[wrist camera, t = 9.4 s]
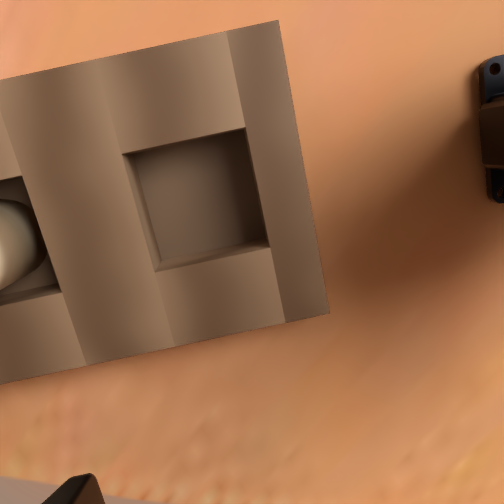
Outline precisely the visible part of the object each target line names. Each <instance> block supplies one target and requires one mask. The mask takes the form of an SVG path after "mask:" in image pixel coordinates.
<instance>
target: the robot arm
mask: <svg viewBox="0 0 504 504" xmlns="http://www.w3.org/2000/svg"><path fill="white" fill-rule="evenodd" d="M491 65H493V66H494V67H495V73H494V74H493V75H492V74H491V73H490V71H489V69H490V66H491ZM479 85H480V99H481V108H480V110H479V122H480V136H481V150H482V163H483V164H484V165H485V171H486V185H487V196H488V198H489V200H490V201H492V202H495V203H504V55H500V56H495V57H492V58H489V59H487V60H485V61H484V62H483V63H482V64H481V65H480V68H479ZM500 188H502V190H503V192H502V195H501V196H500V197H498V195H497V193H498V190H499V189H500ZM42 504H105V502H104V499H103V496H102V493H101V490H100V487H99V485H98V482H97V479H96V477H95V476H94V475H93V474H91V473H88V474H83V475H78V476H74V477H71V478H69V479H68V480H67V481H66V482H65V483H64V484H63V485H61V486H60V487H59V488H58V489H57V490H56V491H55V492H54V493H53V494H52V495H51V496H50V497H48V498H47V499H46V500H45V501H44V502H43V503H42Z"/></svg>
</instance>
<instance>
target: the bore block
mask: <svg viewBox="0 0 504 504" xmlns="http://www.w3.org/2000/svg"><path fill="white" fill-rule="evenodd" d="M0 199H12V200H16V201H19V202H21V203H23V204H25V205H27V206H29V207H30V208H31V209H33V210H34V212H35V215H36V218H37V221H38V224H39V227H40V230H41V232H42V235H43V238H44V241H45V244H46V247H47V250H48V252H47V255H46V257H45V259H44V261H43V262H42V264H41V265H40V266H39V267H38V268H37V269H35V270H34V271H32V272H30V273H29V274H27V275H25V276H24V277H22V278H20V279H18V280H17V281H15V282H13V283H12V284H10V285H8V286H6V287H5V288H3V289H1V290H0V384H5V383H9V382H14V381H19V380H23V379H28V378H33V377H37V376H42V375H47V374H51V373H56V372H60V371H65V370H70V369H74V368H79V367H84V366H88V365H93V364H98V363H102V362H107V361H111V360H116V359H121V358H125V357H130V356H135V355H139V354H144V353H149V352H153V351H158V350H162V349H167V348H172V347H176V346H181V345H186V344H190V343H195V342H200V341H204V340H209V339H214V338H218V337H223V336H227V335H232V334H237V333H241V332H246V331H251V330H255V329H260V328H265V327H269V326H274V325H278V324H283V323H288V322H292V321H297V320H302V319H306V318H311V317H316V316H320V315H325V314H329V313H330V312H329V306H328V300H327V295H326V289H325V283H324V278H323V272H322V266H321V260H320V255H319V249H318V243H317V238H316V232H315V226H314V220H313V215H312V209H311V203H310V198H309V192H308V186H307V180H306V175H305V169H304V163H303V158H302V152H301V146H300V140H299V135H298V129H297V123H296V118H295V112H294V106H293V100H292V95H291V89H290V83H289V78H288V72H287V66H286V61H285V55H284V49H283V43H282V38H281V32H280V26H279V21H278V20H275V21H271V22H266V23H261V24H257V25H252V26H248V27H243V28H238V29H234V30H229V31H224V32H220V33H215V34H211V35H206V36H201V37H197V38H192V39H187V40H183V41H178V42H174V43H169V44H164V45H160V46H155V47H150V48H146V49H141V50H137V51H132V52H127V53H123V54H118V55H113V56H109V57H104V58H100V59H95V60H90V61H86V62H81V63H76V64H72V65H67V66H63V67H58V68H53V69H49V70H44V71H39V72H35V73H30V74H26V75H21V76H16V77H12V78H7V79H2V80H0Z"/></svg>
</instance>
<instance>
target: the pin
mask: <svg viewBox="0 0 504 504" xmlns="http://www.w3.org/2000/svg"><path fill="white" fill-rule="evenodd" d="M47 252H48V250H47V247H46V244H45V241H44V238H43V235H42V232H41V230H40V227H39V224H38V221H37V218H36V215H35V212H34V210H33V209H31V208H30V207H29V206H27V205H25V204H23V203H21V202H19V201H16V200H12V199H0V290H1V289H3V288H5V287H6V286H8V285H10V284H12V283H13V282H15V281H17V280H18V279H20V278H22V277H24V276H25V275H27V274H29V273H30V272H32V271H34V270H35V269H37V268H38V267H39V266H40V265H41V264H42V262H43V261H44V259H45V257H46V255H47Z"/></svg>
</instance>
